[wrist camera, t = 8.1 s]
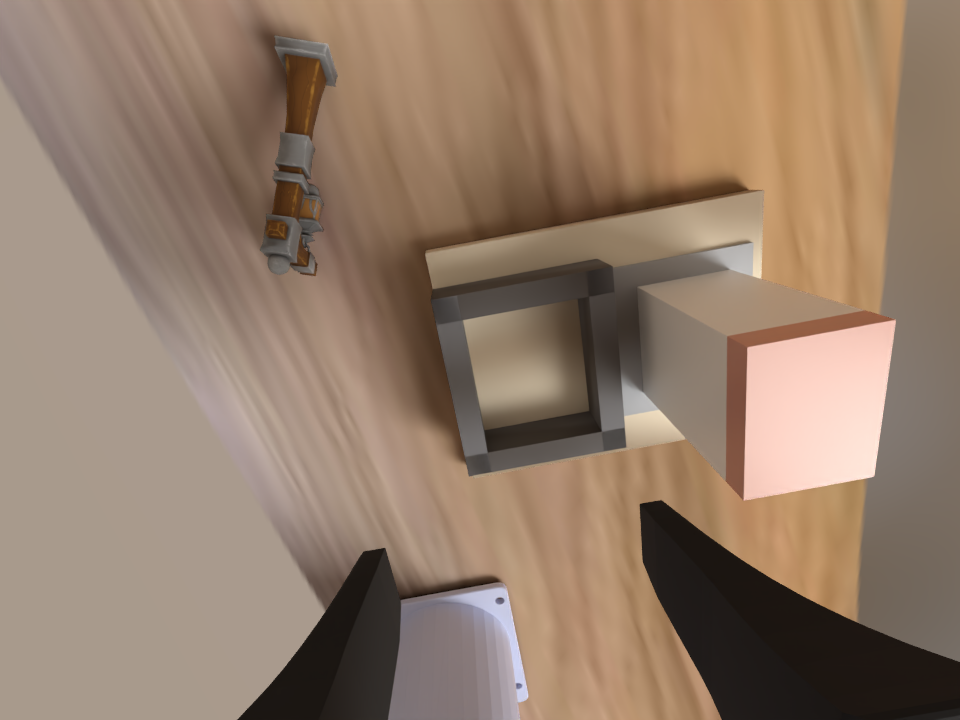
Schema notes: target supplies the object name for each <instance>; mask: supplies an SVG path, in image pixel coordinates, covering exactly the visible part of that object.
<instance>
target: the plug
mask: <svg viewBox="0 0 960 720" xmlns="http://www.w3.org/2000/svg"><path fill="white" fill-rule="evenodd" d="M637 294H638V311H639V327H640V344H641V361H642V378H643V393H644V394H645V395H646V396H647V397H648V398H649V399H650V400H651V401H652V402H653V403H654V405H655V406H656V407H657V408H658V409H659V410H660V411H661V412H662V413H663V414H664V415H665V416H666V417H667V419H668V420H669V421H670V422H671V423H672V424H673V425H674V426H675V427H676V428H677V429H678V430H679V431H680V433H681V434H682V435H683V436H684V437H685V438H686V439H687V440H688V441H689V442H690V443H691V444H692V445H693V447H694V448H695V449H696V450H697V451H698V452H699V453H700V454H701V455H702V456H703V457H704V458H705V459H706V461H707V462H708V463H709V464H710V465H711V466H712V467H713V468H714V469H715V470H716V471H717V472H718V473H719V475H720V476H721V477H722V478H723V479H724V480H725V481H726V482H727V483H728V484H729V485H730V486H731V487H732V489H733V490H734V491H735V492H736V493H737V494H738V495H739V496H740V497H741V498H742V499H743V500H750V499H755V498H761V497H766V496H771V495H777V494H782V493H788V492H793V491H799V490H804V489H809V488H815V487H820V486H826V485H831V484H837V483H842V482H848V481H853V480H858V479H864V478H869V477H874V473H875V466H876V459H877V452H878V444H879V438H880V430H881V423H882V416H883V409H884V402H885V395H886V388H887V380H888V373H889V365H890V359H891V352H892V345H893V338H894V330H895V323H896V320H895V319H892V318H889V317H885V316H882V315H879V314H875V313H872V312H869V311H866V310H862V309H859V308H856V307H852V306H849V305H846V304H842V303H839V302H836V301H833V300H829V299H826V298H823V297H819V296H816V295H813V294H809V293H806V292H803V291H800V290H796V289H793V288H790V287H786V286H783V285H780V284H776V283H773V282H770V281H767V280H763V279H760V278H757V277H753V276H750V275H747V274H743V273H740V272H737V271H734V270H725V271H719V272H714V273H709V274H703V275H698V276H693V277H687V278H682V279H677V280H671V281H666V282H660V283H655V284H650V285H644V286H639V287H637Z"/></svg>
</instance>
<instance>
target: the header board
mask: <svg viewBox="0 0 960 720" xmlns="http://www.w3.org/2000/svg"><path fill="white" fill-rule="evenodd" d="M763 210H764V190H746V191H741V192H735V193H730V194H725V195H719V196H714V197H709V198H703V199H698V200H693V201H687V202H682V203H677V204H671V205H666V206H661V207H655V208H650V209H645V210H639V211H634V212H628V213H623V214H618V215H612V216H607V217H602V218H596V219H591V220H586V221H580V222H575V223H570V224H564V225H559V226H554V227H548V228H543V229H538V230H532V231H527V232H522V233H516V234H511V235H506V236H500V237H495V238H490V239H484V240H479V241H474V242H468V243H463V244H458V245H452V246H447V247H442V248H436V249H431V250H426V252H425V256H426V260H427V265H428V270H429V274H430V279H431V284H432V288H433V291H432V296H431V303H432V308H433V312H434V317H435V322H436V326H437V331H438V336H439V340H440V345H441V349H442V354H443V359H444V363H445V368H446V372H447V377H448V382H449V386H450V391H451V395H452V400H453V405H454V409H455V414H456V418H457V423H458V428H459V432H460V437H461V441H462V446H463V451H464V455H465V460H466V465H467V469H468V474H469V476H473V478H478V477H484V476H489V475H495V474H500V473H506V472H511V471H516V470H522V469H527V468H533V467H538V466H544V465H549V464H554V463H560V462H565V461H571V460H576V459H582V458H587V457H593V456H598V455H603V454H609V453H614V452H620V451H625V450H631V449H636V448H641V447H647V446H652V445H658V444H663V443H669V442H674V441H679V440H685V439H686V438H685V437H684V436H683V435H682V434H681V433H680V431H679V430H678V429H677V428H676V427H675V426H674V425H673V424H672V423H671V422H670V421H669V420H668V419H667V417H666V416H665V415H664V414H663V413H662V412H661V411H660V410H659V409H658V408H657V407H656V406H655V405H654V403H653V402H652V401H651V400H650V399H649V398H648V397H647V396H646V395H645V394H644V393H643V378H642V361H641V344H640V327H639V311H638V294H637V287H639V286H644V285H650V284H655V283H660V282H666V281H671V280H677V279H682V278H687V277H693V276H698V275H703V274H709V273H714V272H719V271H725V270H734V271H737V272H740V273H743V274H747V275H750V276H753V277H757V278H760V279H761V267H762V238H763Z"/></svg>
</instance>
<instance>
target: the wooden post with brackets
mask: <svg viewBox="0 0 960 720" xmlns="http://www.w3.org/2000/svg"><path fill="white" fill-rule="evenodd" d="M274 37H275V39H276V45H275V50H276V52H277V54H278V56H279V58H280V60H281V63H282V65H283V67H284V69H285V71H286V73H287V118H286V128H285V132H280V146H279V152H278V156H277V159H276V161H275V164H276V166H277V167H278V168H279V171H275V170H273V171H274V176H273V179H274V181H275V182H276V184H277V187H276V193H275V199H274V205H273V211H272V215H271V214H266V227H265V233H264V239H263V244H262V246H261V248H260V251H261V252H262V253H263V254H264V255H266V256H267V257H268V267H269V269H270V271H271V272H273V273H275V274H278V275H280V274H284V273H286V272H287V271H288V270H289V267H290V266H291V267H292V268H293V269H294V270H295V271H298V272H300V274H303V275H312V276H316V271H317V263H316V262H315V260H314V259H315V257H314V256H313V254H312V253H311V252H310V247H309V246H308V245H307V242H312V241H314V239H313V238H312V237H311V236H313V234H312V233H313V232H318V231H323V228H322V226H321V225H320V224H319V221H320V215H321V210H322V208H323V206H324V203H323V201H322V200H321V198H320V196H319V190H318V188H317V187H316V186H314V185H311V184H308V182H307V180H306V179H311V165H312V158H313V154H314V152H315V148H314V146H313V144H312V136H313V129H314V125H315V121H316V117H317V113H318V108H319V104H320V100H321V96H322V93H323V91H324V88H325V85H328V86H335V87H336V85H335V83H336V78H337V72H336V69H335V66H334V62H333V59H332V56H331V53H330V49H329V46H328V44H324V43H318V42H312V41H306V40H299V39H293V38H287V37H280V36H274ZM304 242H305V244H304ZM306 247H307V248H308V251H306V250H305V249H304V248H306Z"/></svg>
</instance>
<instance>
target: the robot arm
mask: <svg viewBox="0 0 960 720" xmlns="http://www.w3.org/2000/svg"><path fill="white" fill-rule="evenodd" d="M640 519H641V537H642V556H643V563H644V566H645V568H646V571H647V573H648V576H649V578H650V581H651V583H652V585H653V588H654V590H655V592H656V595H657V597H658V599H659V601H660V603H661V604H662V606H663V608H664V610H665V612H666V614H667V615H668V617H669V619H670V621H671V623H672V625H673V626H674V628H675V630H676V632H677V634H678V635H679V637H680V639H681V641H682V643H683V644H684V646H685V648H686V650H687V652H688V653H689V655H690V657H691V659H692V661H693V662H694V664H695V666H696V668H697V670H698V671H699V673H700V675H701V677H702V679H703V681H704V683H705V685H706V687H707V689H708V690H709V692H710V694H711V696H712V699H713V701H714V703H715V705H716V708H717V710H718V712H719V714H720V716H721V719H722V720H960V662H958V661H955V660H952V659H949V658H946V657H943V656H941V655H938V654H935V653H932V652H930V651H927V650H924V649H921V648H918V647H915V646H913V645H910V644H907V643H905V642H902V641H900V640H897V639H895V638H892V637H890V636H888V635H885V634H883V633H880V632H878V631H875V630H873V629H871V628H868V627H866V626H864V625H861V624H859V623H857V622H855V621H852V620H850V619H848V618H846V617H844V616H842V615H840V614H838V613H835V612H833V611H831V610H829V609H827V608H825V607H823V606H821V605H819V604H817V603H815V602H813V601H811V600H809V599H807V598H805V597H803V596H801V595H800V594H798V593H796V592H794V591H792V590H791V589H789V588H787V587H785V586H783V585H782V584H780V583H778V582H776V581H775V580H773V579H771V578H770V577H768V576H766V575H765V574H763V573H761V572H760V571H758V570H757V569H755V568H753V567H752V566H750V565H749V564H747V563H746V562H744V561H743V560H741V559H740V558H738V557H737V556H735V555H734V554H732V553H731V552H729V551H728V550H727V549H725V548H724V547H722V546H721V545H720V544H718V543H717V542H715V541H714V540H713V539H711V538H710V537H709V536H707V535H706V534H705V533H703V532H702V531H701V530H699V529H698V528H697V527H695V526H694V525H693V524H691V523H690V522H689V521H688V520H686V519H685V518H684V517H682V516H681V515H680V514H679V513H677V512H676V511H675V510H674V509H672V508H671V507H670V506H668V505H667V504H666V503H664V502H663V501H662V500H660V501H654V502H648V503H642V504H640ZM499 597H502V598H501V599H497V598H499ZM527 698H528V690H527V685H526V680H525V675H524V670H523V666H522V661H521V656H520V651H519V646H518V641H517V636H516V631H515V626H514V621H513V616H512V612H511V607H510V602H509V597H508V592H507V587H506V585H505V584H503V583H500V582H497V583H491V584H486V585H480V586H475V587H469V588H464V589H458V590H453V591H447V592H442V593H436V594H431V595H425V596H420V597H414V598H409V599H403V600H400V597H399V594H398V591H397V587H396V584H395V580H394V577H393V573H392V570H391V567H390V563H389V560H388V556H387V553H386V549H385V548H382V549H376V550H370V551H365V552H363V553H362V555H361V556H360V558H359V559H358V561H357V562H356V564H355V566H354V567H353V569H352V571H351V572H350V574H349V576H348V577H347V579H346V581H345V582H344V584H343V585H342V587H341V589H340V590H339V592H338V593H337V595H336V596H335V598H334V599H333V601H332V603H331V604H330V606H329V607H328V609H327V610H326V612H325V613H324V615H323V616H322V618H321V619H320V621H319V622H318V624H317V625H316V626H315V628H314V629H313V630H312V632H311V633H310V635H309V636H308V638H307V639H306V640H305V642H304V643H303V644H302V646H301V647H300V648H299V650H298V651H297V652H296V654H295V655H294V656H293V657H292V659H291V660H290V661H289V663H288V664H287V665H286V666H285V668H284V669H283V670H282V671H281V672H280V674H279V675H278V676H277V677H276V678H275V680H274V681H273V682H272V683H271V684H270V685H269V687H268V688H267V689H266V690H265V691H264V692H263V693H262V694H261V695H260V696H259V697H258V699H257V700H256V701H255V702H254V703H253V704H252V705H251V706H250V707H249V708H248V709H247V710H246V711H245V712H244V713H243V714H242V715H241V717H239V719H238V720H520V715H519V707H518V703H519V702H523V701H525V700H526V699H527Z"/></svg>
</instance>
